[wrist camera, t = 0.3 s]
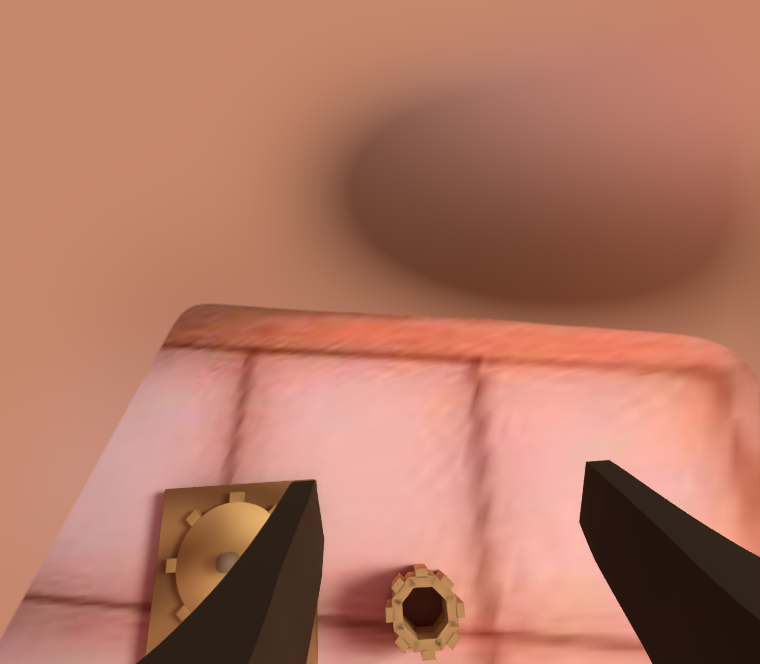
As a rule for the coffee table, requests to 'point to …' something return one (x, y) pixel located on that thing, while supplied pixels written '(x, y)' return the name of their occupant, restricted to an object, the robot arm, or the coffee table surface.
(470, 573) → the coffee table surface
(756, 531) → the coffee table surface
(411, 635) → the maple gear
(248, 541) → the gear board
